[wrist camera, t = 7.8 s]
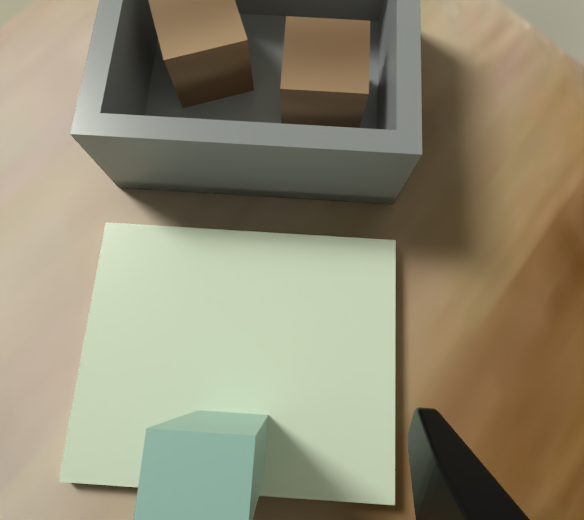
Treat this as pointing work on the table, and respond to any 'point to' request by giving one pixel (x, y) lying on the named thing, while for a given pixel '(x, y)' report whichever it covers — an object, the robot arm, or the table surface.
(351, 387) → the lid
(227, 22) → the block
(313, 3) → the tub
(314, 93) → the block
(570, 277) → the table surface
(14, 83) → the table surface
